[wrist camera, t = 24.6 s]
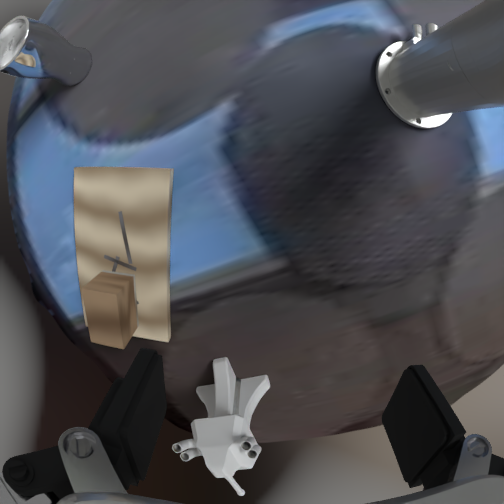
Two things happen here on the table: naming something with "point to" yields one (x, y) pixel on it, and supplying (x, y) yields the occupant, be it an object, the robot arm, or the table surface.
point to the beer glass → (41, 53)
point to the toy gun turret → (226, 423)
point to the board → (127, 236)
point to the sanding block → (111, 308)
